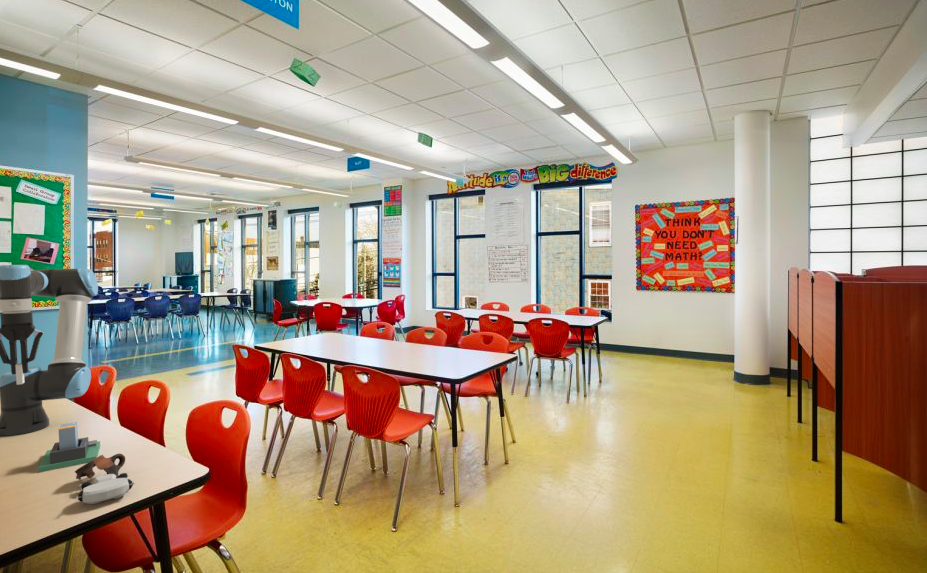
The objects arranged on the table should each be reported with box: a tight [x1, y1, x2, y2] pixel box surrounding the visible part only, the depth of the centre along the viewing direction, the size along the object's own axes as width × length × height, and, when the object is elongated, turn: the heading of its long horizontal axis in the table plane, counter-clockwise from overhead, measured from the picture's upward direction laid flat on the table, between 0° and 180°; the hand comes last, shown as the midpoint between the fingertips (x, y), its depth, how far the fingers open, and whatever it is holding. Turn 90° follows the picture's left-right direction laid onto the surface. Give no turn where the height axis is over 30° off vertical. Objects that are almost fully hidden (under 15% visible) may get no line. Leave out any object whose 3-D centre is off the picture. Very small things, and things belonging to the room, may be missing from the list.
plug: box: [58, 421, 79, 450], centre depth 150 cm, size 6×4×10 cm, turn 34°
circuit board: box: [37, 436, 101, 473], centre depth 152 cm, size 16×14×5 cm
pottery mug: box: [74, 453, 126, 480], centre depth 137 cm, size 12×9×8 cm
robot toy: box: [75, 472, 136, 505], centre depth 127 cm, size 12×4×15 cm
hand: (20, 383), depth 153 cm, fingers closed
